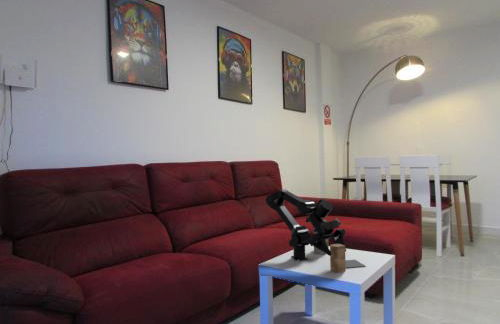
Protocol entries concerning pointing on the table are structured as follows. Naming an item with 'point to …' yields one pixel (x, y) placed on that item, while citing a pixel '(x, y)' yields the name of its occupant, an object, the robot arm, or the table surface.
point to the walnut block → (337, 258)
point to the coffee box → (325, 242)
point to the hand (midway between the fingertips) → (338, 253)
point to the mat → (353, 264)
